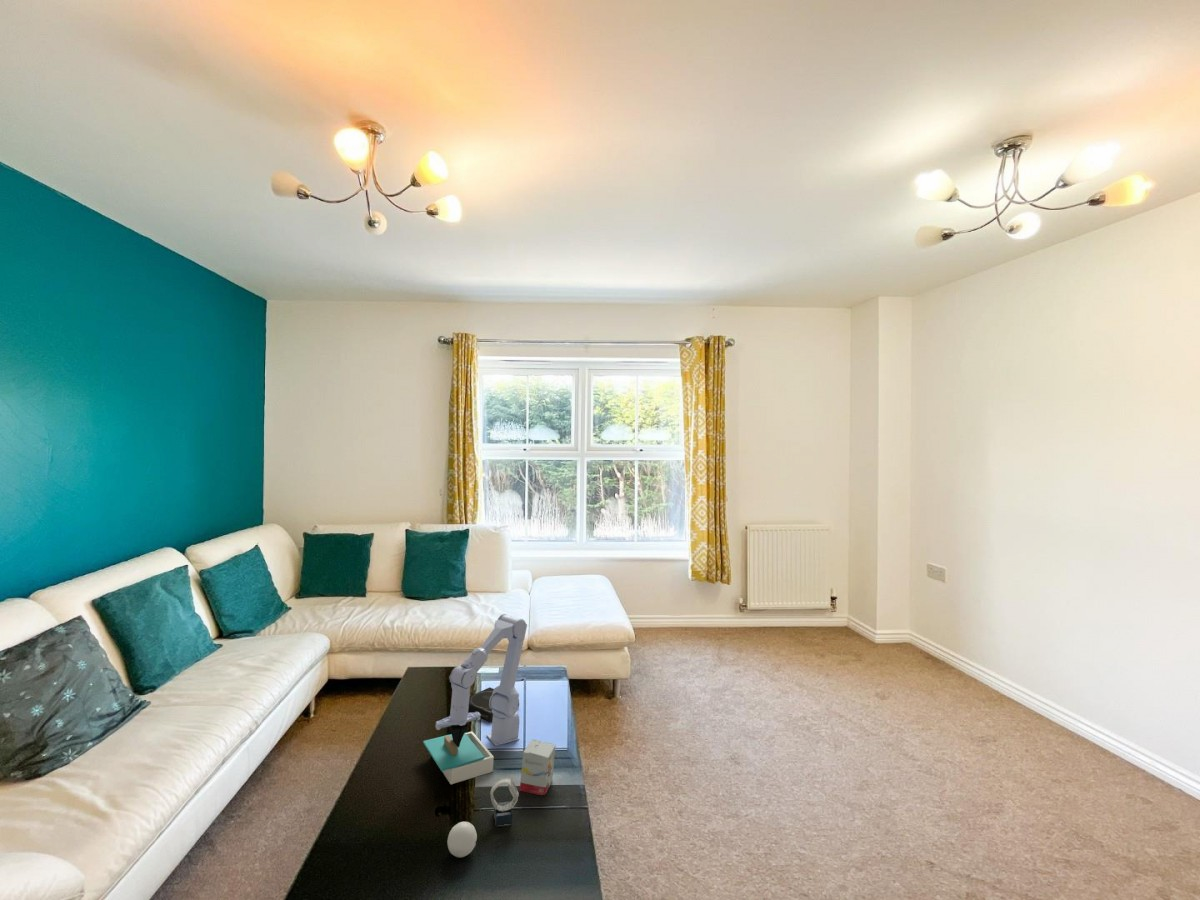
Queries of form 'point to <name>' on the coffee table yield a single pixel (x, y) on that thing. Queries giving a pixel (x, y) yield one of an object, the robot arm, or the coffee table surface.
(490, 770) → the mailer box
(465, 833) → the white egg
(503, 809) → the watch
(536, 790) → the ink box
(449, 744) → the lid
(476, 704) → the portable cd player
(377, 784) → the coffee table surface
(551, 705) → the coffee table surface
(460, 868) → the coffee table surface
